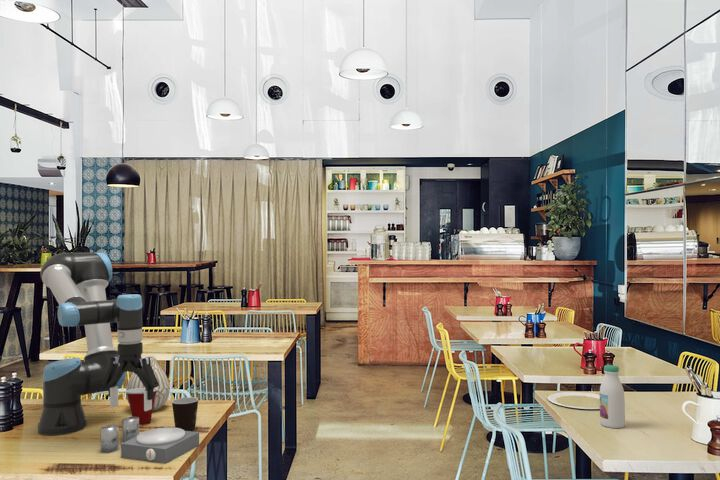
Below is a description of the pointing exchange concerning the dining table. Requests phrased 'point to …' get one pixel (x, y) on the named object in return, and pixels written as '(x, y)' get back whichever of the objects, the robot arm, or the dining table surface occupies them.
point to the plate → (553, 397)
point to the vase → (162, 388)
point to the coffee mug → (185, 413)
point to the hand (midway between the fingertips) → (130, 408)
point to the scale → (160, 444)
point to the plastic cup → (140, 405)
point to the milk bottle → (612, 399)
